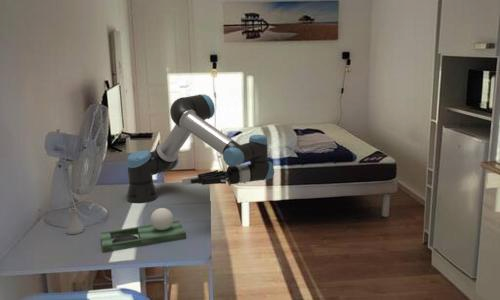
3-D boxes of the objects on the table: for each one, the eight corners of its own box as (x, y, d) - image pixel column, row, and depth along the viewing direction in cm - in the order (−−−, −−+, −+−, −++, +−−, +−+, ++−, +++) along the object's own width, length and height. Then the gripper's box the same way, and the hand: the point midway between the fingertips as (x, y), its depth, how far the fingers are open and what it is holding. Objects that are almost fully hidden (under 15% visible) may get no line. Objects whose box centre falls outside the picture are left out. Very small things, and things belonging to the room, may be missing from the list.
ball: (150, 227, 197) (148, 206, 195) (171, 223, 200) (170, 203, 198) (153, 235, 189) (151, 214, 187) (175, 231, 192) (174, 210, 190)
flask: (78, 235, 198) (75, 212, 195) (62, 234, 199) (59, 212, 197) (87, 228, 205) (85, 206, 202) (72, 227, 206) (69, 206, 204)
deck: (101, 238, 194) (100, 232, 193) (179, 225, 204) (178, 220, 204) (103, 252, 181) (102, 246, 181) (186, 238, 191) (185, 232, 191)
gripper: (243, 187, 195) (186, 195, 188) (233, 178, 207) (179, 186, 200) (242, 169, 194) (185, 177, 186) (232, 162, 206) (178, 168, 198)
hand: (182, 181), depth 193 cm, fingers closed
